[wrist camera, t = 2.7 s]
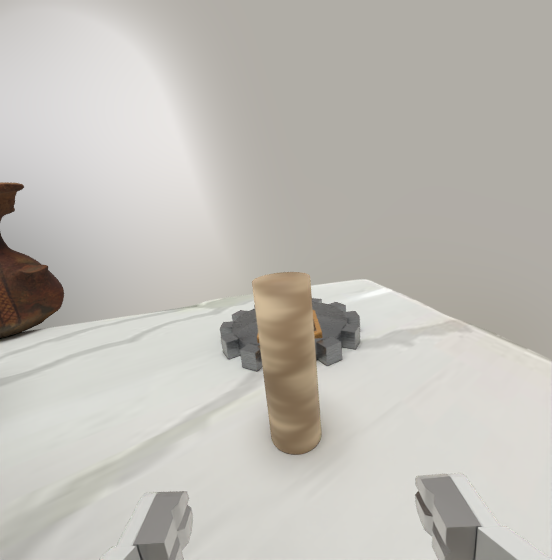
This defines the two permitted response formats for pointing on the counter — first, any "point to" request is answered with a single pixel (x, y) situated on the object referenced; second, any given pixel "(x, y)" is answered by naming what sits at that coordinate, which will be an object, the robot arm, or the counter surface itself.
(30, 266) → the jug
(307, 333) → the drive pin
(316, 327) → the sprocket
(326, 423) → the counter surface
